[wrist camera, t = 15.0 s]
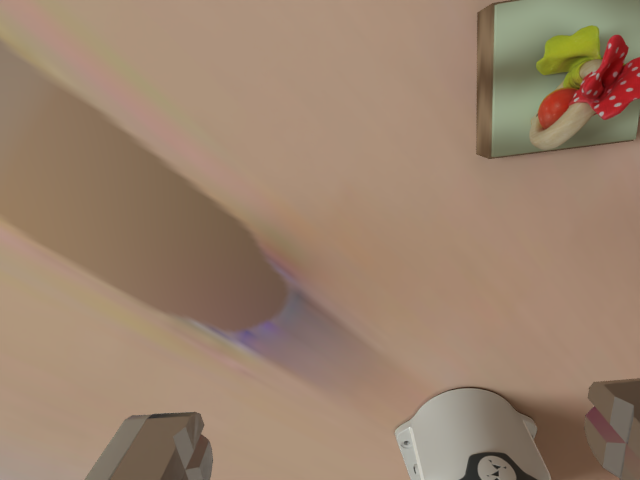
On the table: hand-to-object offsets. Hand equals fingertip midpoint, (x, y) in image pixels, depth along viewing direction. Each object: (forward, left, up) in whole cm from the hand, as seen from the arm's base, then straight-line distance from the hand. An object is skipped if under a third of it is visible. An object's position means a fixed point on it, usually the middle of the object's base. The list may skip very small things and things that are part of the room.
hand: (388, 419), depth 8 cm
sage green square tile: (+6, -20, -34) cm, 40 cm away
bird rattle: (+4, -18, -30) cm, 36 cm away
